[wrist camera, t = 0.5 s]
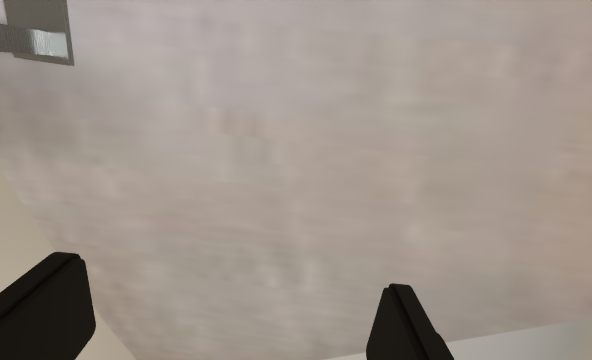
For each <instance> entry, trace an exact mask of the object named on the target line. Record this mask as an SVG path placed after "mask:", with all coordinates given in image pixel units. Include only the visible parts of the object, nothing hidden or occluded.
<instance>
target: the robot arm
mask: <svg viewBox="0 0 592 360" xmlns="http://www.w3.org/2000/svg"><path fill="white" fill-rule="evenodd" d="M95 327H96V322H95V317H94V311H93V305H92V299H91V293H90V287H89V282H88V276H87V270H86V265H85V261H84V260H83V259H81V258H80V256H79V255H78V254H75V253H65V252H54V253H52V254H50V255H49V256H48V257H46V258H45V259H44V260H42V261H41V262H40V263H39V264H37V265H36V266H35V267H33V268H32V269H31V270H29V271H28V272H27V273H25V274H24V275H23V276H21V277H20V278H19V279H17V280H16V281H15V282H14V283H12V284H11V285H10V286H8V287H7V288H6V289H4V290H3V291H2V292H0V360H75V359H76V357H77V356H78V355H79V353H80V352H81V351H82V349H83V348H84V347H85V345H86V344H87V342H88V341H89V340H90V339H91V337H92V336H93V334H94V331H95ZM366 357H367V360H454V358H453V356H452V355H451V353H450V351H449V349H448V347H447V346H446V344H445V342H444V340H443V339H442V337H441V336H440V335H439V334H438V333H437V332H436V331H435V329H434V328H433V326H432V324H431V322H430V320H429V318H428V317H427V315H426V313H425V311H424V309H423V307H422V306H421V304H420V302H419V300H418V298H417V296H416V294H415V293H414V291H413V289H412V287H411V286H409V285H403V284H393V283H392V284H390V285H389V288H384V290H383V293H382V296H381V300H380V303H379V306H378V310H377V313H376V317H375V320H374V323H373V327H372V330H371V333H370V337H369V340H368V344H367V348H366Z"/></svg>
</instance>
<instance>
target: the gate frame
mask: <svg viewBox="0 0 592 360" xmlns="http://www.w3.org/2000/svg"><path fill="white" fill-rule="evenodd" d="M4 4H5V9H6V15H7V20H8V25H4V24H0V52H13V53H14V57H16V58H23V59H29V60H36V61H43V62H50V63H56V64H63V65H73V66H74V60H73V52H72V43H71V35H70V27H69V18H68V10H67V1H66V0H4Z"/></svg>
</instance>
